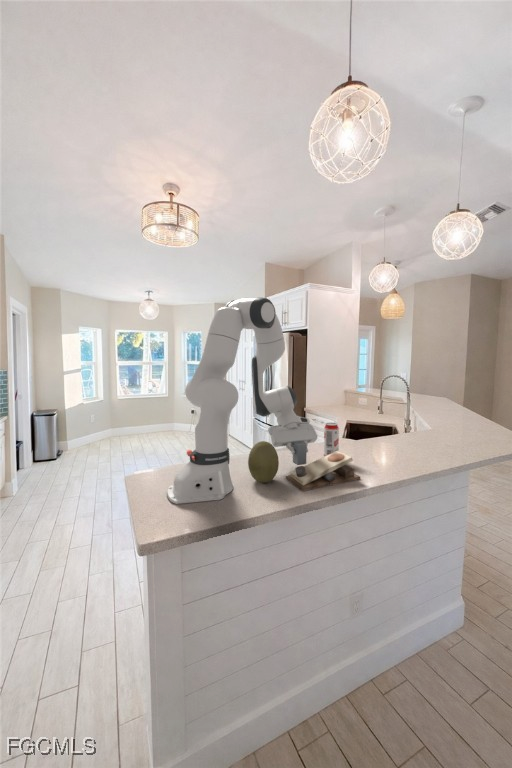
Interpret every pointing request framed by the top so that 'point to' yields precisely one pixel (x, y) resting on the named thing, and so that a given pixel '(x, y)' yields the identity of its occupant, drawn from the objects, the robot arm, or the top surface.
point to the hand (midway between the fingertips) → (300, 452)
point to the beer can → (331, 438)
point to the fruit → (263, 462)
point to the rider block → (300, 453)
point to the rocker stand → (328, 478)
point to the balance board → (320, 467)
